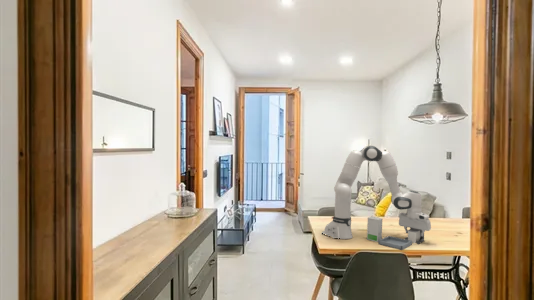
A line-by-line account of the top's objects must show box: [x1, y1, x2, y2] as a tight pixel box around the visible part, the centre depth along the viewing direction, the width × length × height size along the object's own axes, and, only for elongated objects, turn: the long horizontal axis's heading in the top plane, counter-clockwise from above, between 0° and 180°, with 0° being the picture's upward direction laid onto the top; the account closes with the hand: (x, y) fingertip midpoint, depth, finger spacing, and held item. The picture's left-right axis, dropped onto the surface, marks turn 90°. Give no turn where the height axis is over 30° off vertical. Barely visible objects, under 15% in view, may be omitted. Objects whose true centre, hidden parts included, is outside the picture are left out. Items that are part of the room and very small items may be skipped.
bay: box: [404, 228, 425, 245], centre depth 207 cm, size 9×10×10 cm
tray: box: [377, 235, 413, 251], centre depth 200 cm, size 16×16×2 cm
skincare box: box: [366, 215, 383, 243], centre depth 210 cm, size 8×7×16 cm
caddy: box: [407, 228, 420, 244], centre depth 207 cm, size 5×8×8 cm, turn 133°
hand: (414, 234), depth 207 cm, fingers open, 8 cm apart
